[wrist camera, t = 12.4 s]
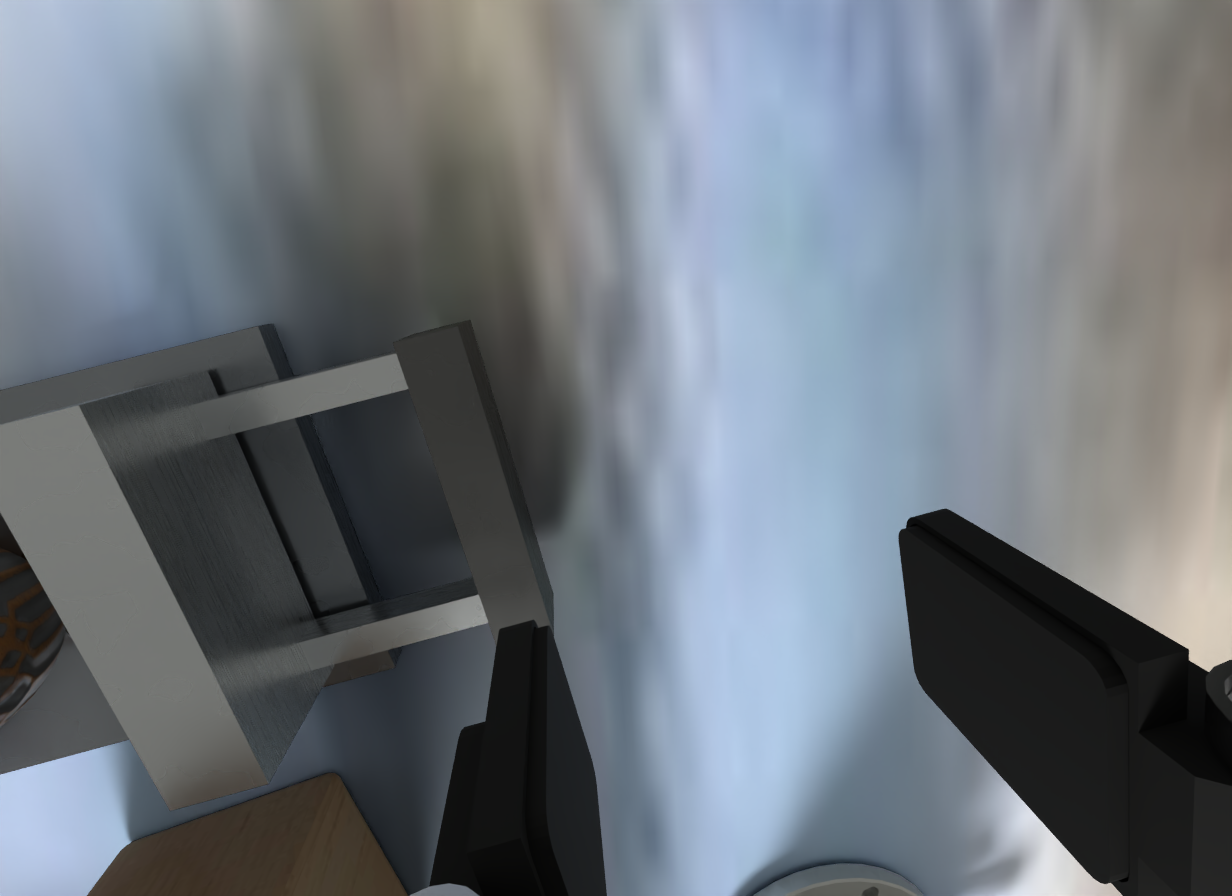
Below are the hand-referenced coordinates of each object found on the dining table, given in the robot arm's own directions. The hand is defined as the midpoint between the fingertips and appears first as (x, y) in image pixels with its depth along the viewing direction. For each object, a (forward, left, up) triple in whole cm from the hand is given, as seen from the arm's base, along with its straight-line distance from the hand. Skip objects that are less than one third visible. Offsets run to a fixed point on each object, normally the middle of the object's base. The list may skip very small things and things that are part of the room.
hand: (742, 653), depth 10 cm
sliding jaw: (+11, 0, -14) cm, 18 cm away
